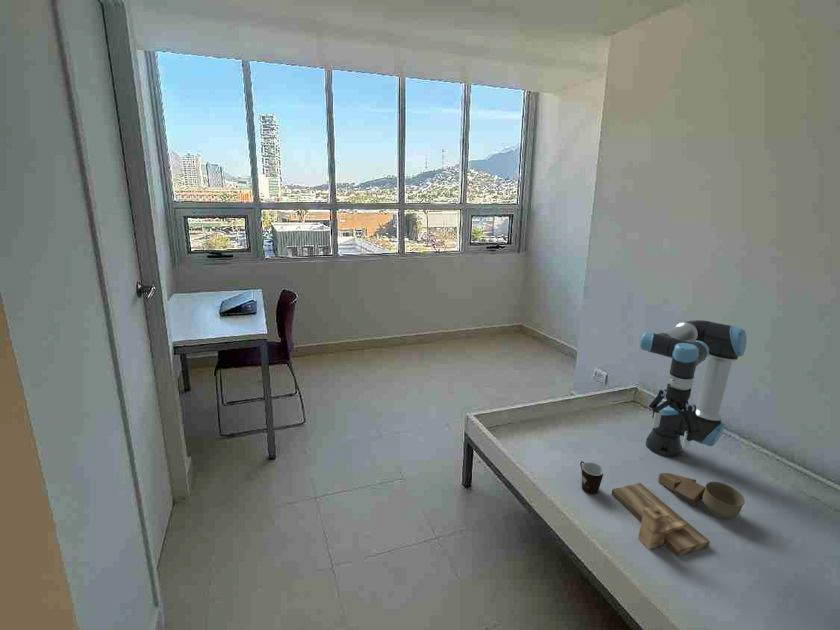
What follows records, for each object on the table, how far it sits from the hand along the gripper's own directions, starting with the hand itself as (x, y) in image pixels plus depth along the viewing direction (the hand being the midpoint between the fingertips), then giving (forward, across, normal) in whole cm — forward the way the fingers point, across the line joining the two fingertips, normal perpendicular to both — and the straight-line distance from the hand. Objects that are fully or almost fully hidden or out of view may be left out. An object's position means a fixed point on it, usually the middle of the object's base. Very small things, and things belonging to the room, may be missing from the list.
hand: (669, 436), depth 162 cm
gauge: (+30, +15, -12) cm, 36 cm away
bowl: (+31, +12, +18) cm, 38 cm away
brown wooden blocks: (+32, -2, +16) cm, 36 cm away
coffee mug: (+31, -16, -19) cm, 40 cm away
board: (+30, +6, -7) cm, 32 cm away
